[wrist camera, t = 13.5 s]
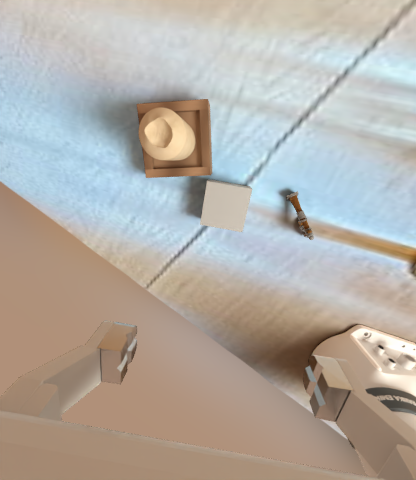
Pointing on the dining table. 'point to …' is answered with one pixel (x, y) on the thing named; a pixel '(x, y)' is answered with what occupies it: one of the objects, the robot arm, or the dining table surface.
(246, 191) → the grey block
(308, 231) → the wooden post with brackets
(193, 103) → the square wooden tray
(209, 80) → the dining table surface
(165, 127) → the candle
